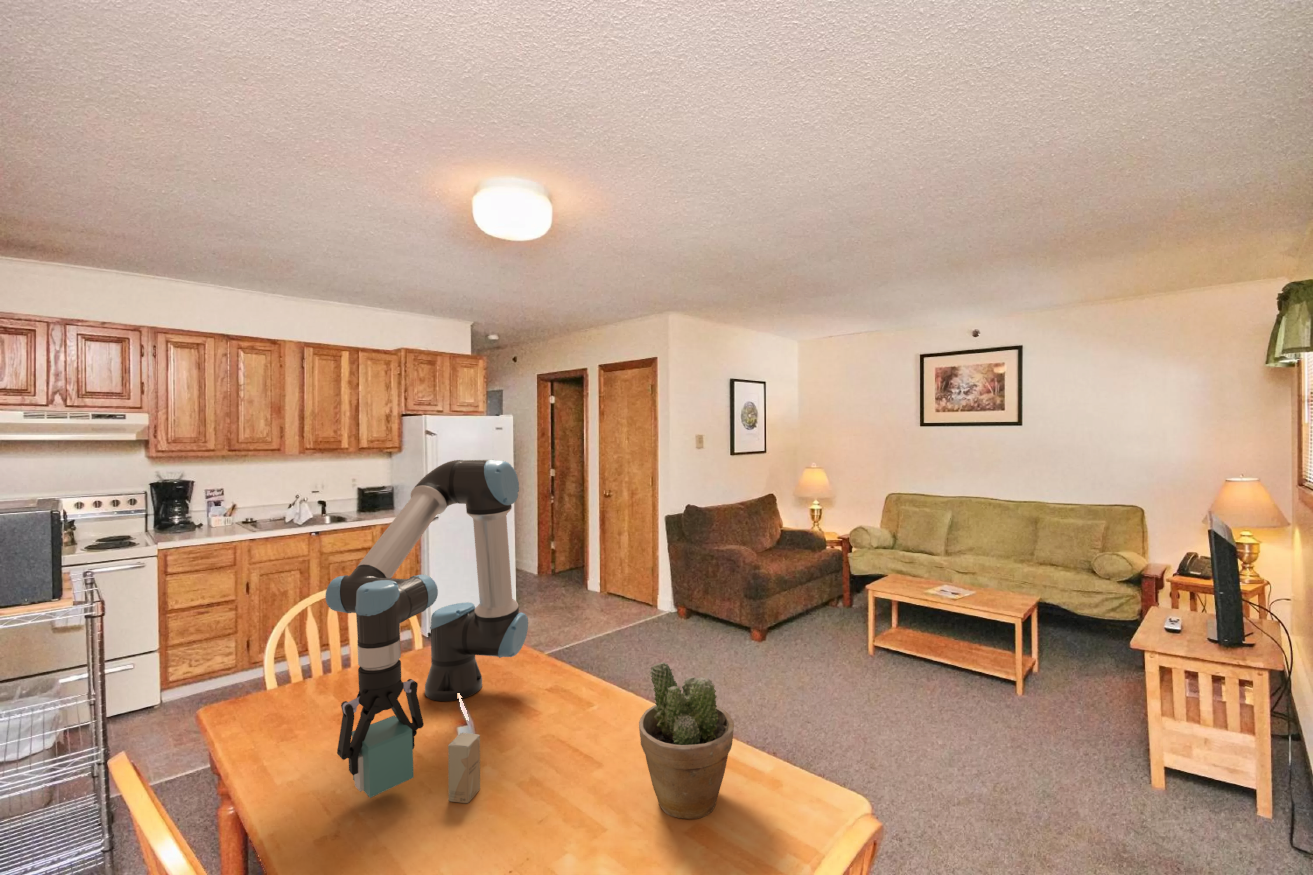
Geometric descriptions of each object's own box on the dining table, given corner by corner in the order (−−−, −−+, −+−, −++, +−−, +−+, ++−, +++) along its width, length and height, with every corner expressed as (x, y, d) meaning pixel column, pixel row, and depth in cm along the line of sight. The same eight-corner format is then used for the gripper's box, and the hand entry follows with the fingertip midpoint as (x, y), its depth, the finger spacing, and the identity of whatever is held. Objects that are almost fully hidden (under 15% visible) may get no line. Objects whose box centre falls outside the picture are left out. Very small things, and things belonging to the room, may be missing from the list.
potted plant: (743, 782, 118) (742, 660, 118) (723, 843, 101) (721, 700, 101) (657, 766, 124) (656, 650, 124) (625, 821, 107) (623, 686, 107)
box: (467, 804, 112) (467, 747, 112) (447, 801, 113) (446, 745, 113) (481, 787, 118) (480, 733, 117) (461, 785, 118) (461, 731, 118)
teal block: (395, 760, 120) (394, 715, 119) (413, 777, 114) (412, 729, 114) (353, 779, 114) (351, 731, 113) (370, 797, 108) (368, 747, 108)
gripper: (423, 641, 123) (426, 746, 124) (313, 675, 108) (317, 794, 109) (440, 651, 118) (443, 760, 119) (327, 687, 103) (331, 812, 104)
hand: (383, 776), depth 114 cm, fingers closed on teal block, 8 cm apart
